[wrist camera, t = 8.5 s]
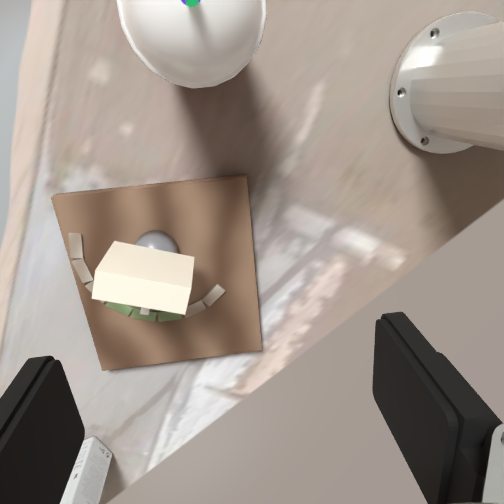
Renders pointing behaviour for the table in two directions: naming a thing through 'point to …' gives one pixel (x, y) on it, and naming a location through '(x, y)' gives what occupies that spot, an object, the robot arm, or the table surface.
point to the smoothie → (194, 37)
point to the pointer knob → (145, 274)
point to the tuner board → (189, 243)
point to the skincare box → (88, 474)
